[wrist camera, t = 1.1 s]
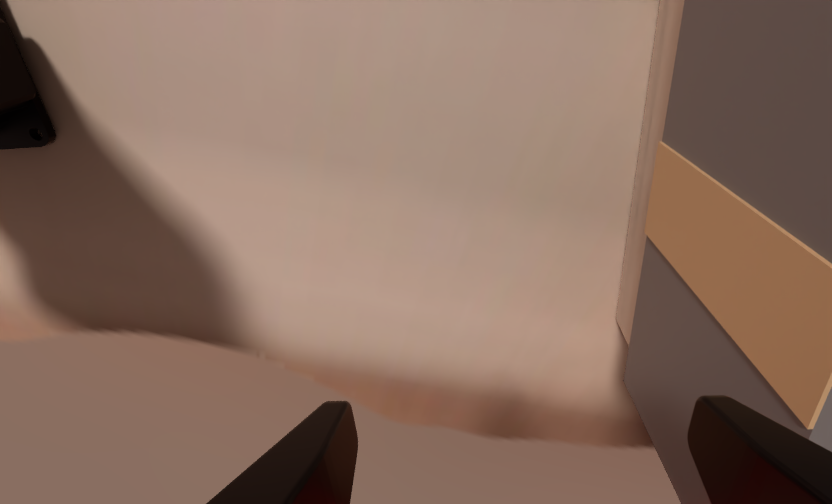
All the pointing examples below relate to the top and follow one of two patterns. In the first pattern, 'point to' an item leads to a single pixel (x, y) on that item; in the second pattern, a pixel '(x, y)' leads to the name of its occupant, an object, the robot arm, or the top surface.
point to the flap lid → (739, 229)
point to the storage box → (648, 155)
